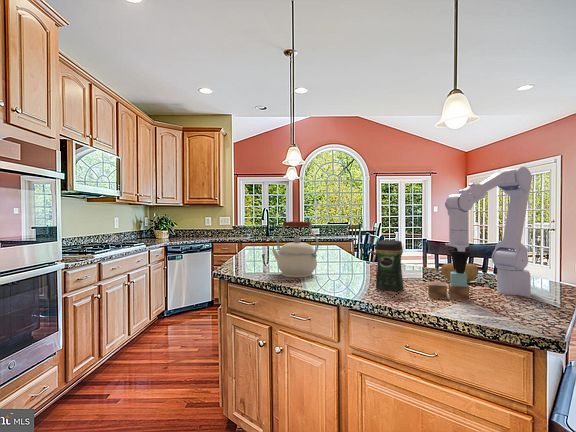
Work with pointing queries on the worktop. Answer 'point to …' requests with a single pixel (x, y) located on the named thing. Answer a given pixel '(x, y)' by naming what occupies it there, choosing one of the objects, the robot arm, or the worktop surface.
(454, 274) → the teal block
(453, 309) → the worktop surface
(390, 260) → the coffee jar
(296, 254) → the kettle
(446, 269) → the potato
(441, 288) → the walnut block
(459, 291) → the walnut block
